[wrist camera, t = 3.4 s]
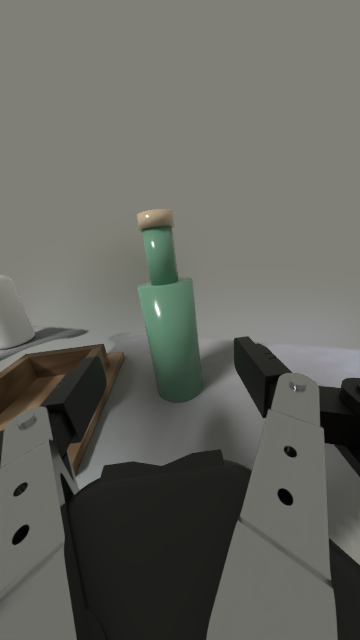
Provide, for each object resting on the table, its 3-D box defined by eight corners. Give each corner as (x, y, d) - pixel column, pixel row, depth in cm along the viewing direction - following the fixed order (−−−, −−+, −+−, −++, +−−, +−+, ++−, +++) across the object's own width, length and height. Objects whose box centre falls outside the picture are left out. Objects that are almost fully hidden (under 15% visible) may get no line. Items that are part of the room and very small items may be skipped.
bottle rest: (73, 477, 15) (53, 438, 13) (-104, 503, 14) (-146, 466, 13) (124, 356, 31) (118, 333, 30) (43, 367, 31) (32, 344, 30)
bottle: (172, 410, 20) (136, 204, 13) (151, 383, 24) (115, 220, 17) (211, 386, 22) (198, 205, 16) (185, 366, 27) (166, 219, 20)
